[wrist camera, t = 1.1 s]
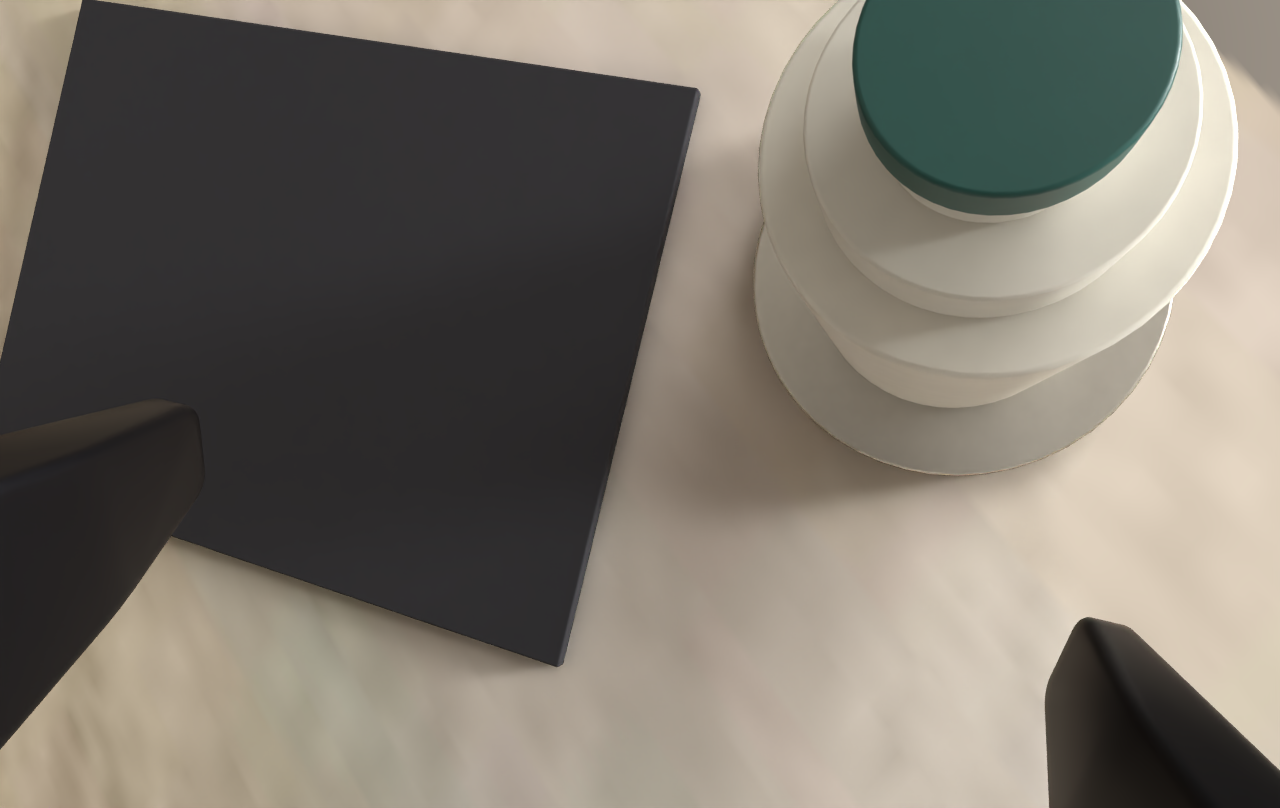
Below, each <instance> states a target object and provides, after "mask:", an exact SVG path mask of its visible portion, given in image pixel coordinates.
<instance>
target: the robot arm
mask: <svg viewBox="0 0 1280 808" xmlns="http://www.w3.org/2000/svg"><path fill="white" fill-rule="evenodd" d="M204 479H205V465H204V456H203V447H202V438H201V429H200V421H199V417H198V415H197V413H196V411H195V410H194V409H193V408H192V407H190V406H188V405H184V404H180V403H176V402H171V401H167V400H163V399H149V400H144V401H140V402H136V403H132V404H128V405H124V406H119V407H115V408H111V409H107V410H103V411H99V412H95V413H90V414H86V415H82V416H78V417H74V418H70V419H65V420H61V421H57V422H53V423H49V424H45V425H40V426H36V427H32V428H28V429H24V430H20V431H15V432H11V433H7V434H3V435H0V749H1V748H2V747H3V746H4V745H5V743H6V742H7V741H8V740H9V739H10V738H11V736H12V735H13V734H14V733H15V732H16V731H17V729H18V728H19V727H20V726H21V725H22V724H23V722H24V721H25V720H26V719H27V718H28V716H29V715H30V714H31V713H32V712H33V711H34V709H35V708H36V707H37V706H38V705H39V704H40V702H41V701H42V700H43V699H44V698H45V697H46V695H47V694H48V693H49V692H50V691H51V690H52V688H53V687H54V686H55V685H56V684H57V683H58V681H59V680H60V679H61V678H62V677H63V676H64V674H65V673H66V672H67V671H68V670H69V669H70V667H71V666H72V665H73V664H74V663H75V661H76V660H77V659H78V658H79V657H80V656H81V654H82V653H83V652H84V651H85V650H86V649H87V647H88V646H89V645H90V644H91V643H92V642H93V640H94V639H95V638H96V637H97V636H98V635H99V633H100V632H101V631H102V630H103V629H104V628H105V626H106V625H107V624H108V623H109V621H110V620H111V619H112V618H113V616H114V615H115V614H116V613H117V612H118V610H119V609H120V608H121V606H122V605H123V604H124V602H125V601H126V600H127V598H128V597H129V596H130V594H131V593H132V592H133V590H134V589H135V587H136V586H137V584H138V583H139V582H140V580H141V579H142V577H143V576H144V574H145V573H146V571H147V570H148V569H149V567H150V566H151V564H152V563H153V561H154V560H155V558H156V557H157V555H158V554H159V553H160V551H161V550H162V548H163V547H164V545H165V544H166V542H167V541H168V540H169V538H170V537H171V535H172V534H173V532H174V531H175V529H176V528H177V526H178V525H179V524H180V522H181V521H182V519H183V518H184V516H185V515H186V513H187V512H188V511H189V509H190V508H191V506H192V505H193V503H194V502H195V500H196V499H197V497H198V496H199V494H200V492H201V490H202V487H203V484H204ZM1045 721H1046V744H1047V767H1048V790H1049V808H1280V770H1279V769H1278V768H1277V767H1276V766H1274V765H1273V764H1272V763H1271V762H1270V761H1269V760H1268V759H1267V758H1266V757H1265V756H1264V755H1263V754H1262V753H1261V752H1260V751H1259V750H1258V749H1257V748H1256V747H1255V746H1254V745H1253V744H1251V743H1250V742H1249V741H1248V740H1247V739H1246V738H1245V737H1244V736H1243V735H1242V734H1241V733H1240V732H1239V731H1238V730H1237V729H1236V728H1235V727H1234V726H1233V725H1232V724H1231V723H1230V722H1228V721H1227V720H1226V719H1225V718H1224V717H1223V716H1222V715H1221V714H1220V713H1219V712H1218V711H1217V710H1216V709H1215V708H1214V707H1213V706H1212V705H1211V704H1210V703H1209V702H1208V701H1207V700H1205V699H1204V698H1203V697H1202V696H1201V695H1200V694H1199V693H1198V692H1197V691H1196V690H1195V689H1194V688H1193V687H1192V686H1191V685H1190V684H1189V683H1188V682H1187V681H1186V680H1185V679H1183V678H1182V677H1181V676H1180V675H1179V674H1178V673H1177V672H1176V671H1175V670H1174V669H1173V668H1172V667H1171V666H1170V665H1169V664H1168V663H1167V662H1166V661H1165V660H1164V659H1163V658H1162V657H1160V656H1159V655H1158V654H1157V653H1156V652H1155V651H1154V650H1153V649H1152V648H1151V647H1150V646H1149V645H1148V644H1147V643H1146V642H1145V641H1144V640H1143V639H1142V638H1141V637H1140V636H1139V635H1137V634H1136V633H1135V632H1134V631H1133V630H1132V629H1131V628H1129V627H1127V626H1125V625H1121V624H1116V623H1112V622H1108V621H1103V620H1099V619H1095V618H1091V617H1086V618H1084V619H1081V620H1080V621H1079V622H1078V623H1077V624H1076V625H1075V626H1074V628H1073V630H1072V632H1071V634H1070V636H1069V638H1068V641H1067V643H1066V645H1065V647H1064V649H1063V651H1062V653H1061V655H1060V657H1059V659H1058V662H1057V664H1056V666H1055V668H1054V670H1053V672H1052V674H1051V676H1050V679H1049V681H1048V685H1047V689H1046V694H1045Z"/></svg>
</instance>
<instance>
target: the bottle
mask: <svg viewBox="0 0 1280 808" xmlns="http://www.w3.org/2000/svg"><path fill="white" fill-rule="evenodd" d="M1237 156H1238V125H1237V117H1236V109H1235V101H1234V97H1233V94H1232V90H1231V87H1230V83H1229V80H1228V76H1227V73H1226V70H1225V68H1224V65H1223V63H1222V61H1221V59H1220V57H1219V55H1218V52H1217V50H1216V48H1215V46H1214V44H1213V42H1212V40H1211V39H1210V37H1209V36H1208V35H1207V33H1206V31H1205V30H1204V28H1203V27H1202V25H1201V24H1200V22H1199V21H1198V19H1197V18H1196V16H1195V15H1194V14H1193V13H1192V12H1191V11H1190V10H1189V8H1187V6H1186V5H1185V4H1184V3H1183V2H1182V1H1181V0H838V1H837V2H836V3H835V4H834V5H833V6H832V7H831V8H830V9H829V10H828V11H827V12H826V13H825V14H824V15H823V16H822V17H821V18H820V19H819V20H818V21H817V22H816V23H815V25H814V26H813V27H812V29H811V30H810V31H809V32H808V34H807V35H806V36H805V37H804V39H803V40H802V41H801V43H800V44H799V45H798V47H797V49H796V50H795V52H794V54H793V55H792V57H791V58H790V60H789V62H788V63H787V65H786V67H785V68H784V70H783V72H782V75H781V77H780V79H779V81H778V83H777V86H776V88H775V90H774V92H773V94H772V97H771V101H770V104H769V107H768V110H767V114H766V117H765V120H764V124H763V130H762V136H761V141H760V147H759V164H758V182H759V194H760V204H761V209H762V213H763V217H764V222H765V226H766V230H767V233H768V236H769V238H770V241H771V244H772V246H773V249H774V252H775V254H776V257H777V258H778V260H779V262H780V264H781V266H782V268H783V269H784V271H785V273H786V275H787V277H788V279H789V280H790V282H791V283H792V285H793V286H794V287H795V289H796V290H797V292H798V293H799V295H800V296H801V297H802V299H803V300H804V302H805V303H806V305H807V306H808V307H809V309H810V310H811V312H812V313H813V314H814V316H815V317H816V319H817V320H818V322H819V323H820V324H821V326H822V327H823V329H824V330H825V332H826V333H827V334H828V336H829V337H830V339H831V340H832V342H833V343H834V344H835V346H836V347H837V349H838V350H839V351H840V353H841V354H842V355H843V357H844V358H845V359H846V361H847V362H848V363H849V364H850V365H851V366H852V367H853V368H854V369H855V370H856V371H857V372H858V373H859V374H861V375H862V376H863V377H864V378H866V379H867V380H868V381H869V382H871V383H872V384H874V385H875V386H877V387H879V388H880V389H882V390H884V391H885V392H887V393H890V394H892V395H894V396H896V397H899V398H901V399H904V400H907V401H910V402H914V403H917V404H921V405H927V406H933V407H943V408H962V407H974V406H979V405H984V404H989V403H993V402H997V401H999V400H1002V399H1005V398H1008V397H1011V396H1013V395H1015V394H1017V393H1019V392H1021V391H1023V390H1025V389H1027V388H1029V387H1031V386H1033V385H1035V384H1037V383H1039V382H1041V381H1043V380H1045V379H1047V378H1049V377H1051V376H1053V375H1055V374H1057V373H1059V372H1061V371H1063V370H1065V369H1067V368H1069V367H1071V366H1073V365H1074V364H1076V363H1078V362H1080V361H1082V360H1084V359H1086V358H1088V357H1090V356H1092V355H1094V354H1096V353H1098V352H1100V351H1102V350H1104V349H1106V348H1108V347H1110V346H1112V345H1114V344H1115V343H1117V342H1118V341H1120V340H1121V339H1123V338H1124V337H1126V336H1127V335H1129V334H1130V333H1132V332H1133V331H1135V330H1137V329H1138V328H1140V327H1141V326H1142V325H1144V324H1145V323H1146V322H1147V321H1148V320H1149V319H1150V318H1152V317H1153V316H1154V315H1155V314H1156V313H1157V312H1159V311H1160V310H1161V309H1162V308H1163V307H1164V306H1166V305H1167V304H1168V303H1169V301H1170V300H1171V299H1172V298H1173V297H1174V296H1175V295H1176V294H1177V293H1178V291H1179V290H1180V289H1181V288H1182V287H1183V286H1184V285H1185V284H1186V282H1187V281H1188V280H1189V279H1190V277H1191V276H1192V275H1193V273H1194V272H1195V270H1196V269H1197V267H1198V266H1199V264H1200V263H1201V261H1202V260H1203V258H1204V257H1205V255H1206V254H1207V252H1208V250H1209V248H1210V246H1211V244H1212V242H1213V240H1214V238H1215V236H1216V234H1217V232H1218V230H1219V228H1220V226H1221V224H1222V221H1223V218H1224V215H1225V212H1226V209H1227V206H1228V203H1229V200H1230V197H1231V194H1232V189H1233V184H1234V178H1235V173H1236V167H1237Z"/></svg>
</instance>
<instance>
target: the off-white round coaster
mask: <svg viewBox="0 0 1280 808" xmlns="http://www.w3.org/2000/svg"><path fill="white" fill-rule="evenodd" d="M753 293H754V304H755V313H756V318H757V322H758V327H759V331H760V336H761V339H762V341H763V344H764V347H765V349H766V352H767V355H768V358H769V360H770V362H771V364H772V366H773V368H774V369H775V371H776V373H777V375H778V377H779V379H780V381H781V382H782V384H783V385H784V386H785V388H786V389H787V391H788V392H789V393H790V395H791V396H792V398H793V399H794V401H795V402H796V403H797V404H798V405H799V406H800V407H801V408H802V409H803V410H804V411H805V413H806V414H807V415H808V416H809V417H810V418H811V419H812V420H813V421H814V422H816V423H817V424H818V425H819V426H820V427H822V428H823V429H824V430H825V431H826V432H828V433H829V434H830V435H831V436H833V437H834V438H836V439H837V440H839V441H841V442H842V443H844V444H845V445H847V446H849V447H850V448H852V449H853V450H855V451H857V452H859V453H862V454H864V455H866V456H868V457H870V458H872V459H875V460H877V461H879V462H882V463H886V464H889V465H892V466H895V467H898V468H901V469H905V470H910V471H916V472H921V473H927V474H936V475H954V476H962V475H976V474H988V473H993V472H998V471H1003V470H1008V469H1014V468H1017V467H1020V466H1023V465H1026V464H1029V463H1032V462H1035V461H1038V460H1041V459H1043V458H1045V457H1047V456H1050V455H1052V454H1054V453H1056V452H1058V451H1060V450H1062V449H1064V448H1066V447H1068V446H1070V445H1071V444H1073V443H1074V442H1076V441H1077V440H1079V439H1081V438H1082V437H1084V436H1085V435H1087V434H1088V433H1090V432H1091V431H1093V430H1094V429H1095V428H1096V427H1097V426H1098V425H1100V424H1101V423H1102V422H1103V421H1104V420H1106V419H1107V418H1108V417H1109V416H1110V415H1111V414H1113V413H1114V412H1115V411H1116V409H1117V408H1118V407H1119V406H1120V405H1121V404H1122V403H1123V402H1124V401H1125V399H1126V398H1127V397H1128V396H1129V395H1130V394H1131V393H1132V392H1133V390H1134V389H1135V387H1136V386H1137V384H1138V383H1139V381H1140V380H1141V379H1142V377H1143V376H1144V374H1145V373H1146V371H1147V370H1148V368H1149V366H1150V364H1151V362H1152V360H1153V358H1154V356H1155V354H1156V352H1157V350H1158V348H1159V346H1160V344H1161V342H1162V339H1163V336H1164V333H1165V330H1166V327H1167V324H1168V321H1169V318H1170V313H1171V308H1172V302H1173V298H1172V299H1171V300H1170V301H1169V303H1168V304H1167V305H1166V306H1164V307H1163V308H1162V309H1161V310H1160V311H1159V312H1157V313H1156V314H1155V315H1154V316H1153V317H1152V318H1150V319H1149V320H1148V321H1147V322H1146V323H1145V324H1144V325H1142V326H1141V327H1140V328H1138V329H1137V330H1135V331H1133V332H1132V333H1130V334H1129V335H1127V336H1126V337H1124V338H1123V339H1121V340H1120V341H1118V342H1117V343H1115V344H1114V345H1112V346H1110V347H1108V348H1106V349H1104V350H1102V351H1100V352H1098V353H1096V354H1094V355H1092V356H1090V357H1088V358H1086V359H1084V360H1082V361H1080V362H1078V363H1076V364H1074V365H1073V366H1071V367H1069V368H1067V369H1065V370H1063V371H1061V372H1059V373H1057V374H1055V375H1053V376H1051V377H1049V378H1047V379H1045V380H1043V381H1041V382H1039V383H1037V384H1035V385H1033V386H1031V387H1029V388H1027V389H1025V390H1023V391H1021V392H1019V393H1017V394H1015V395H1013V396H1011V397H1008V398H1005V399H1002V400H999V401H997V402H993V403H989V404H984V405H979V406H974V407H962V408H943V407H933V406H927V405H921V404H917V403H914V402H910V401H907V400H904V399H901V398H899V397H896V396H894V395H892V394H890V393H887V392H885V391H884V390H882V389H880V388H879V387H877V386H875V385H874V384H872V383H871V382H869V381H868V380H867V379H866V378H864V377H863V376H862V375H861V374H859V373H858V372H857V371H856V370H855V369H854V368H853V367H852V366H851V365H850V364H849V363H848V362H847V361H846V359H845V358H844V357H843V355H842V354H841V353H840V351H839V350H838V349H837V347H836V346H835V344H834V343H833V342H832V340H831V339H830V337H829V336H828V334H827V333H826V332H825V330H824V329H823V327H822V326H821V324H820V323H819V322H818V320H817V319H816V317H815V316H814V314H813V313H812V312H811V310H810V309H809V307H808V306H807V305H806V303H805V302H804V300H803V299H802V297H801V296H800V295H799V293H798V292H797V290H796V289H795V287H794V286H793V285H792V283H791V282H790V280H789V279H788V277H787V275H786V273H785V271H784V269H783V268H782V266H781V264H780V262H779V260H778V258H777V257H776V254H775V252H774V249H773V246H772V244H771V241H770V238H769V236H768V233H767V230H766V226H765V222H763V225H762V229H761V232H760V235H759V238H758V244H757V249H756V255H755V261H754V277H753Z"/></svg>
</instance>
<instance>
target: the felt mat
mask: <svg viewBox="0 0 1280 808" xmlns="http://www.w3.org/2000/svg"><path fill="white" fill-rule="evenodd" d="M699 99H700V92H699V90H698V89H697V88H691V87H685V86H678V85H671V84H664V83H657V82H650V81H644V80H637V79H630V78H623V77H616V76H609V75H603V74H596V73H589V72H582V71H575V70H568V69H562V68H555V67H548V66H541V65H534V64H527V63H521V62H514V61H507V60H500V59H493V58H486V57H480V56H473V55H466V54H459V53H452V52H445V51H439V50H432V49H425V48H418V47H411V46H404V45H398V44H391V43H384V42H377V41H370V40H364V39H357V38H350V37H343V36H336V35H329V34H323V33H316V32H309V31H302V30H295V29H288V28H282V27H275V26H268V25H261V24H254V23H247V22H241V21H234V20H227V19H220V18H213V17H206V16H200V15H193V14H186V13H179V12H172V11H165V10H159V9H152V8H145V7H138V6H131V5H124V4H118V3H111V2H104V1H97V0H82V4H81V9H80V13H79V18H78V22H77V26H76V31H75V35H74V40H73V44H72V48H71V53H70V57H69V62H68V66H67V70H66V75H65V79H64V84H63V88H62V92H61V97H60V101H59V106H58V110H57V114H56V119H55V123H54V127H53V132H52V136H51V141H50V145H49V149H48V154H47V158H46V163H45V167H44V171H43V176H42V180H41V185H40V189H39V193H38V198H37V202H36V207H35V211H34V215H33V220H32V224H31V229H30V233H29V237H28V242H27V246H26V250H25V255H24V259H23V264H22V268H21V272H20V277H19V281H18V286H17V290H16V294H15V299H14V303H13V308H12V312H11V316H10V321H9V325H8V330H7V334H6V338H5V343H4V347H3V352H2V356H1V360H0V435H3V434H7V433H11V432H15V431H20V430H24V429H28V428H32V427H36V426H40V425H45V424H49V423H53V422H57V421H61V420H65V419H70V418H74V417H78V416H82V415H86V414H90V413H95V412H99V411H103V410H107V409H111V408H115V407H119V406H124V405H128V404H132V403H136V402H140V401H144V400H149V399H163V400H167V401H171V402H176V403H180V404H184V405H188V406H190V407H192V408H193V409H194V410H195V411H196V413H197V415H198V417H199V421H200V429H201V438H202V447H203V456H204V465H205V479H204V484H203V487H202V490H201V492H200V494H199V496H198V497H197V499H196V500H195V502H194V503H193V505H192V506H191V508H190V509H189V511H188V512H187V513H186V515H185V516H184V518H183V519H182V521H181V522H180V524H179V525H178V526H177V528H176V529H175V531H174V532H173V534H172V535H171V536H173V537H176V538H179V539H182V540H185V541H188V542H191V543H194V544H197V545H200V546H202V547H205V548H208V549H211V550H214V551H217V552H220V553H223V554H226V555H229V556H232V557H235V558H238V559H241V560H244V561H247V562H250V563H252V564H255V565H258V566H261V567H264V568H267V569H270V570H273V571H276V572H279V573H282V574H285V575H288V576H291V577H294V578H297V579H300V580H303V581H305V582H308V583H311V584H314V585H317V586H320V587H323V588H326V589H329V590H332V591H335V592H338V593H341V594H344V595H347V596H350V597H353V598H355V599H358V600H361V601H364V602H367V603H370V604H373V605H376V606H379V607H382V608H385V609H388V610H391V611H394V612H397V613H400V614H403V615H405V616H408V617H411V618H414V619H417V620H420V621H423V622H426V623H429V624H432V625H435V626H438V627H441V628H444V629H447V630H450V631H453V632H455V633H458V634H461V635H464V636H467V637H470V638H473V639H476V640H479V641H482V642H485V643H488V644H491V645H494V646H497V647H500V648H503V649H506V650H508V651H511V652H514V653H517V654H520V655H523V656H526V657H529V658H532V659H535V660H538V661H541V662H544V663H547V664H550V665H553V666H556V667H559V666H560V665H562V664H563V662H564V658H565V653H566V649H567V645H568V641H569V637H570V633H571V629H572V624H573V620H574V616H575V612H576V608H577V604H578V600H579V595H580V591H581V587H582V583H583V579H584V575H585V571H586V567H587V562H588V558H589V554H590V550H591V546H592V542H593V538H594V533H595V529H596V525H597V521H598V517H599V513H600V509H601V504H602V500H603V496H604V492H605V488H606V484H607V480H608V476H609V471H610V467H611V463H612V459H613V455H614V451H615V447H616V442H617V438H618V434H619V430H620V426H621V422H622V418H623V414H624V409H625V405H626V401H627V397H628V393H629V389H630V385H631V380H632V376H633V372H634V368H635V364H636V360H637V356H638V351H639V347H640V343H641V339H642V335H643V331H644V327H645V323H646V318H647V314H648V310H649V306H650V302H651V298H652V294H653V289H654V285H655V281H656V277H657V273H658V269H659V265H660V260H661V256H662V252H663V248H664V244H665V240H666V236H667V232H668V227H669V223H670V219H671V215H672V211H673V207H674V203H675V198H676V194H677V190H678V186H679V182H680V178H681V174H682V169H683V165H684V161H685V157H686V153H687V149H688V145H689V141H690V136H691V132H692V128H693V124H694V120H695V116H696V112H697V107H698V103H699Z"/></svg>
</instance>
